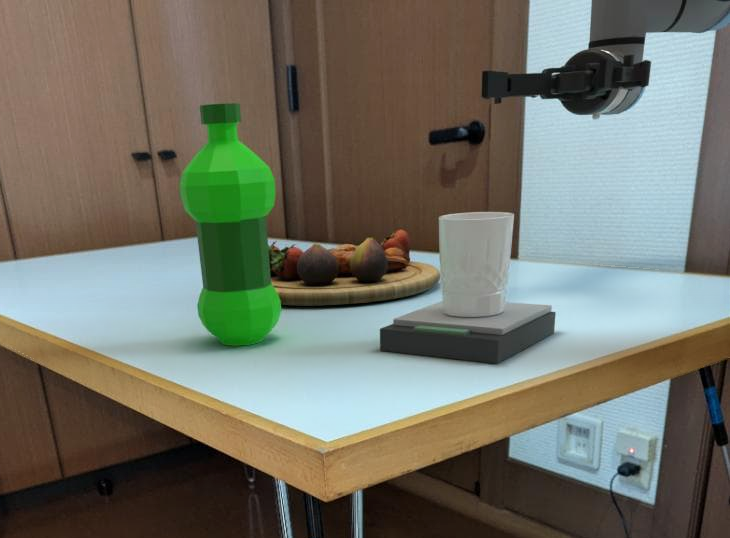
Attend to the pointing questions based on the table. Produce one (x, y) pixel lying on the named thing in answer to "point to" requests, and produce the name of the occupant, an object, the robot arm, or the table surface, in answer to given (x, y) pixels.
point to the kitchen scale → (469, 332)
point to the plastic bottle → (231, 231)
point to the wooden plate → (349, 272)
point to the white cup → (475, 262)
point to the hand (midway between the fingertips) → (541, 79)
